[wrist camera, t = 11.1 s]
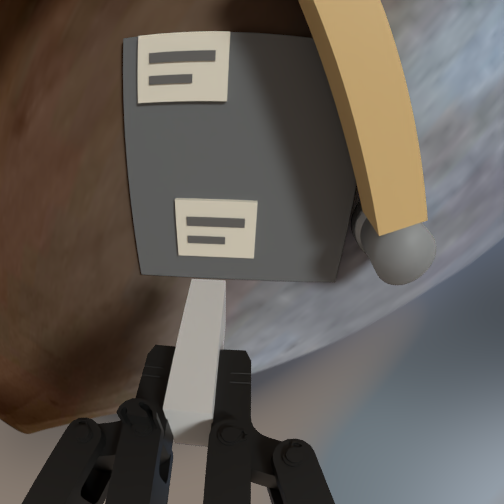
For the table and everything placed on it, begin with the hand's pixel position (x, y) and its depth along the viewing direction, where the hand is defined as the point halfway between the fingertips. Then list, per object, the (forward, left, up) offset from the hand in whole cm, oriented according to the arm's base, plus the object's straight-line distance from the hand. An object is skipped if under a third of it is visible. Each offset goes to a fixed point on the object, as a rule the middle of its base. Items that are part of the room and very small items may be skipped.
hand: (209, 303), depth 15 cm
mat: (+1, +4, -7) cm, 9 cm away
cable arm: (+8, +8, -6) cm, 13 cm away
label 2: (0, 0, -7) cm, 7 cm away
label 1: (-2, +10, -7) cm, 13 cm away
